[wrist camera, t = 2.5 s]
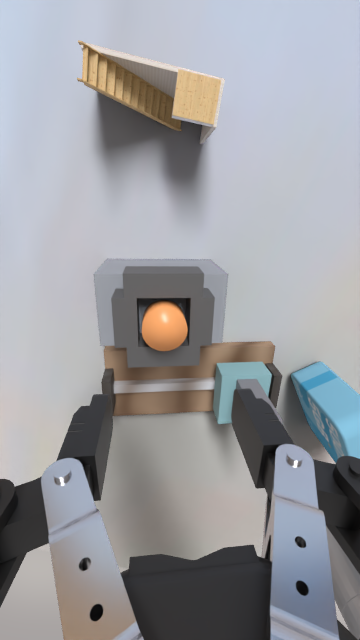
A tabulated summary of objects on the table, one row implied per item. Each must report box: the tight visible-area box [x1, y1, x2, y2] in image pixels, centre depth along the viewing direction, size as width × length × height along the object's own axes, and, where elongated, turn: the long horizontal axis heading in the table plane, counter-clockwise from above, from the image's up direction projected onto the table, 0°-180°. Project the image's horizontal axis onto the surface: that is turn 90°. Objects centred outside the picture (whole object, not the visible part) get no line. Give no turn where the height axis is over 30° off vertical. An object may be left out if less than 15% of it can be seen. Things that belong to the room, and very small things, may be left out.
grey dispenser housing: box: [94, 259, 228, 368], centre depth 28 cm, size 12×8×11 cm
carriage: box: [213, 362, 283, 424], centre depth 32 cm, size 6×7×10 cm
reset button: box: [142, 300, 188, 351], centre depth 23 cm, size 4×4×2 cm
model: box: [77, 40, 225, 144], centre depth 24 cm, size 3×11×8 cm, turn 80°
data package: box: [291, 362, 360, 462], centre depth 36 cm, size 12×4×12 cm, turn 25°
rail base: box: [101, 341, 282, 416], centre depth 36 cm, size 22×10×4 cm, turn 89°
